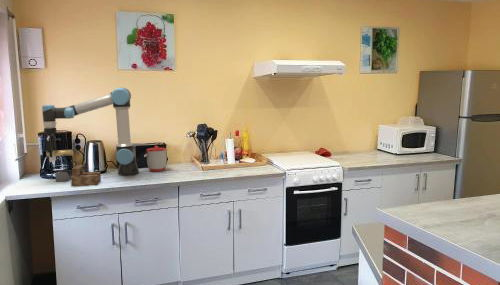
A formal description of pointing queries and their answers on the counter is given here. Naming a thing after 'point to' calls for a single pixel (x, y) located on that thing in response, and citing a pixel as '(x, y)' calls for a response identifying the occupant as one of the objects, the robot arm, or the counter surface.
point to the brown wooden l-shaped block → (84, 177)
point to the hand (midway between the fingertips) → (52, 160)
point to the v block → (63, 176)
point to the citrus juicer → (156, 158)
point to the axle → (61, 153)
